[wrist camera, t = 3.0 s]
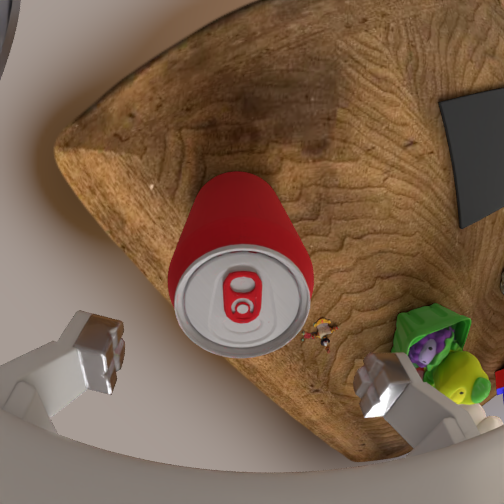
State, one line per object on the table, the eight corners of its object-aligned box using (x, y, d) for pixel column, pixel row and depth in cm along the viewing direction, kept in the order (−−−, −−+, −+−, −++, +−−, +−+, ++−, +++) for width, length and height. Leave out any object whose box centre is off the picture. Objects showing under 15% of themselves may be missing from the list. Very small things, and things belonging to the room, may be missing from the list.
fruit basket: (387, 305, 27) (443, 391, 17) (456, 287, 27) (517, 353, 17) (375, 379, 32) (408, 455, 22) (435, 360, 32) (474, 424, 22)
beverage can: (196, 250, 23) (170, 366, 12) (192, 170, 20) (148, 234, 10) (277, 249, 24) (312, 363, 13) (281, 169, 21) (334, 233, 10)
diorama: (341, 329, 28) (348, 343, 26) (311, 350, 29) (316, 365, 27) (325, 312, 27) (331, 327, 25) (293, 335, 28) (297, 351, 26)
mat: (459, 228, 24) (461, 229, 23) (437, 102, 19) (440, 102, 18) (534, 186, 22) (536, 187, 22) (521, 84, 17) (524, 84, 17)
